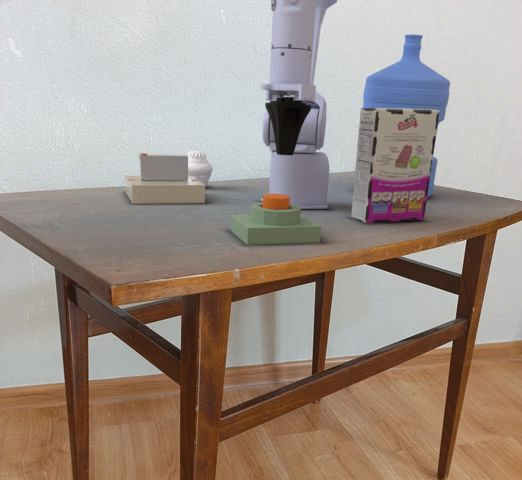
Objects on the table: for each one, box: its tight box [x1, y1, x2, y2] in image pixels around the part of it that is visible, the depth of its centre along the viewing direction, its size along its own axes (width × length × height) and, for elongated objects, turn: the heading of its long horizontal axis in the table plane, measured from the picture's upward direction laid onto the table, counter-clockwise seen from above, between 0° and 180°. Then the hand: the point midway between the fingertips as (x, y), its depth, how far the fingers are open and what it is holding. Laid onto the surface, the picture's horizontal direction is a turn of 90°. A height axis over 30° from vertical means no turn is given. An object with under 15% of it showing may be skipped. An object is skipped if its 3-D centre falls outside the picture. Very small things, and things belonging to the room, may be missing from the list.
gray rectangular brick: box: [138, 152, 188, 180], centre depth 99 cm, size 8×2×4 cm, turn 108°
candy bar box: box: [350, 107, 440, 224], centre depth 91 cm, size 11×5×16 cm, turn 114°
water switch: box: [230, 201, 322, 246], centre depth 79 cm, size 10×8×4 cm
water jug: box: [353, 34, 451, 199], centre depth 112 cm, size 16×16×28 cm
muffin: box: [186, 148, 214, 188], centre depth 112 cm, size 6×6×7 cm
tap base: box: [124, 175, 206, 205], centre depth 101 cm, size 12×12×3 cm
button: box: [261, 193, 290, 210], centre depth 78 cm, size 4×4×2 cm
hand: (284, 155), depth 86 cm, fingers closed
